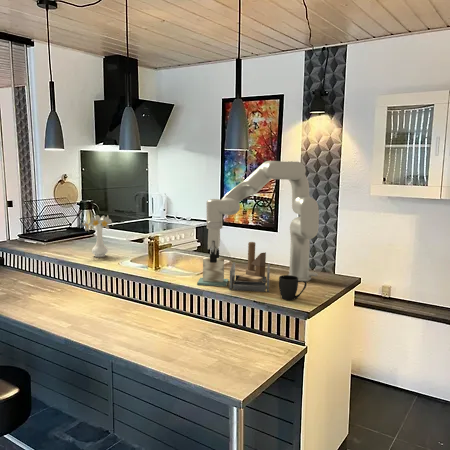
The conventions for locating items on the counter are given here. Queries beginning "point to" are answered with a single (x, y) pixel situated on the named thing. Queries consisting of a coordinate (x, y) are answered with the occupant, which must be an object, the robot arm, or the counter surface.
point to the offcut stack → (250, 278)
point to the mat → (212, 283)
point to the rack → (248, 282)
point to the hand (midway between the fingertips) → (214, 260)
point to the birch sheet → (213, 270)
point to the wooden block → (255, 261)
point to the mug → (289, 287)
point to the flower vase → (99, 234)
